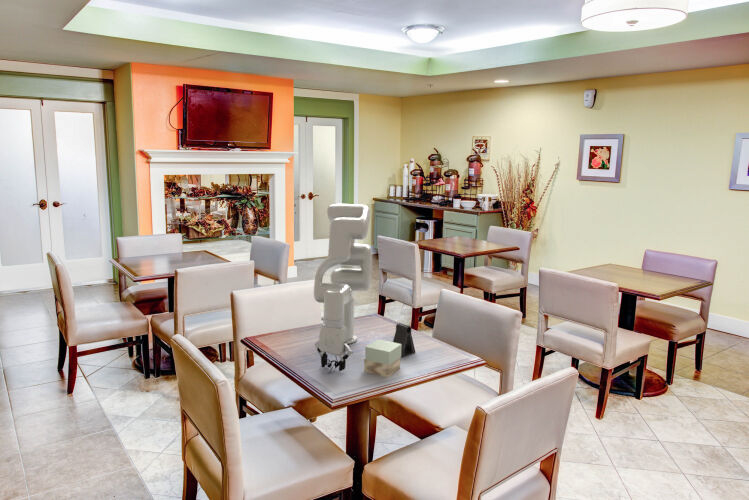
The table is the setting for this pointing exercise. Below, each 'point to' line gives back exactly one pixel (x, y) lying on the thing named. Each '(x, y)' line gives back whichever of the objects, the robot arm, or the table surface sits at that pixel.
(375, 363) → the tower base
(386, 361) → the tower top
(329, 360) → the creature
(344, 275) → the robot arm
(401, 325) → the phone stand
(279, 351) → the table surface
